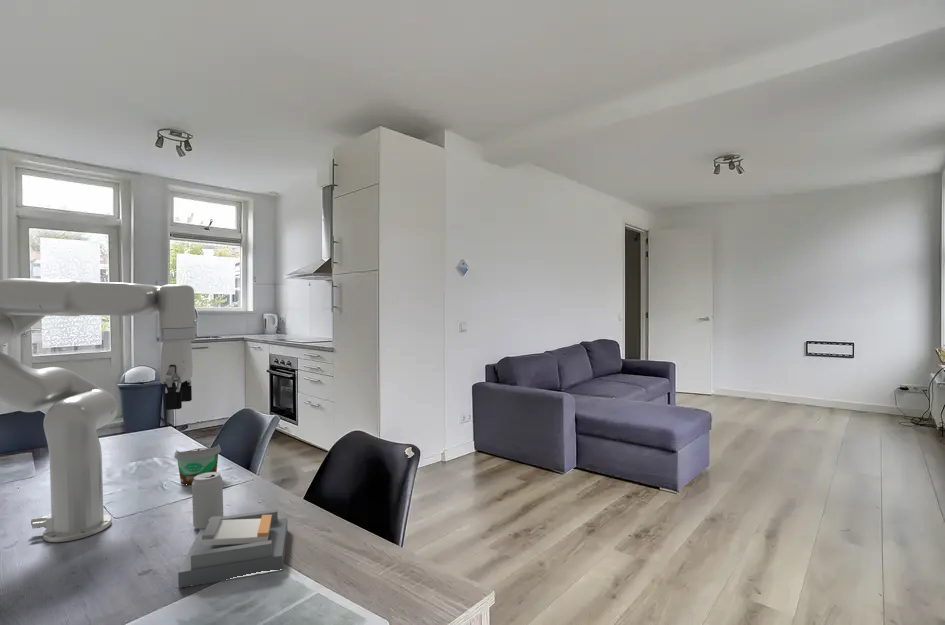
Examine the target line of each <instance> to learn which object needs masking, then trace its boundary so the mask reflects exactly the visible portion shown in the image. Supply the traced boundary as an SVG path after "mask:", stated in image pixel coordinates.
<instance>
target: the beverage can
mask: <svg viewBox="0 0 945 625" xmlns="http://www.w3.org/2000/svg"><path fill="white" fill-rule="evenodd" d="M223 487H224V484H223V477H222V476H221V472H218V471H217V472H208V473H203V474H199V475H197V476H195V477H194V481H193V482H192V486H191V492H192V494H191V496H192V499H191V500H192V526H193V528H195V529H197V530H199V531H200V530H203V529H206V527H207V525H208V520H209V518H211V517H215V516H222V517H223V516H224V494H223V492H224V490H223Z"/></svg>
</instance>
